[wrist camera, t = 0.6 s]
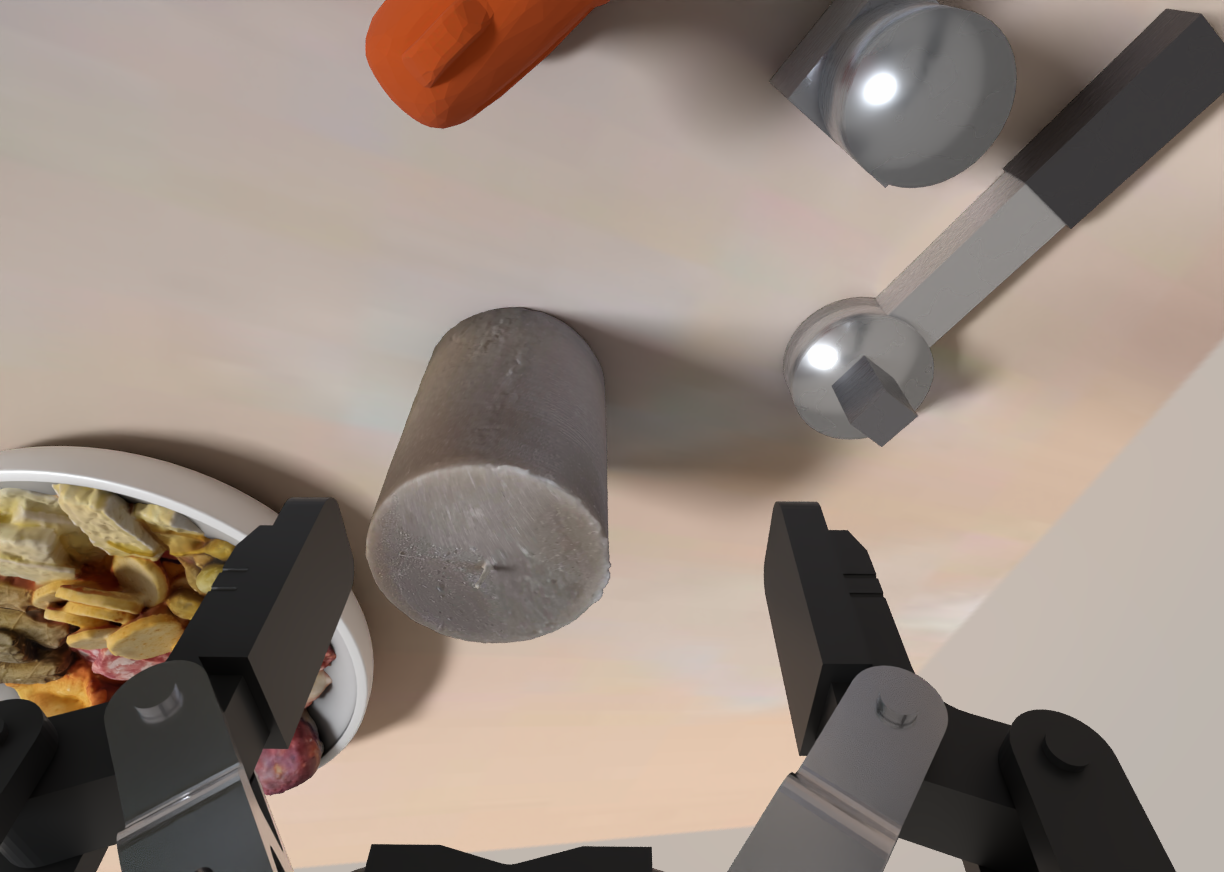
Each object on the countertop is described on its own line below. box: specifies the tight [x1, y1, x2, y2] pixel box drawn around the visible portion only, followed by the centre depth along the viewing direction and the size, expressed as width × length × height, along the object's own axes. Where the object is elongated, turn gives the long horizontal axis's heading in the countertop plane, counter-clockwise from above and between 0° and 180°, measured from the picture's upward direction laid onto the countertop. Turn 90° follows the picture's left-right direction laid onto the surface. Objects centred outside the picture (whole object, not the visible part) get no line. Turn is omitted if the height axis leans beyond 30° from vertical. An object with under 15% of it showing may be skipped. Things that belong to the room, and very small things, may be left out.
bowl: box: [0, 446, 374, 796], centre depth 47 cm, size 30×30×8 cm
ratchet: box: [783, 9, 1224, 447], centre depth 34 cm, size 22×7×6 cm, turn 143°
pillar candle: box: [365, 308, 611, 643], centre depth 34 cm, size 10×10×15 cm
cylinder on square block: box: [769, 0, 1017, 188], centre depth 28 cm, size 6×6×8 cm
